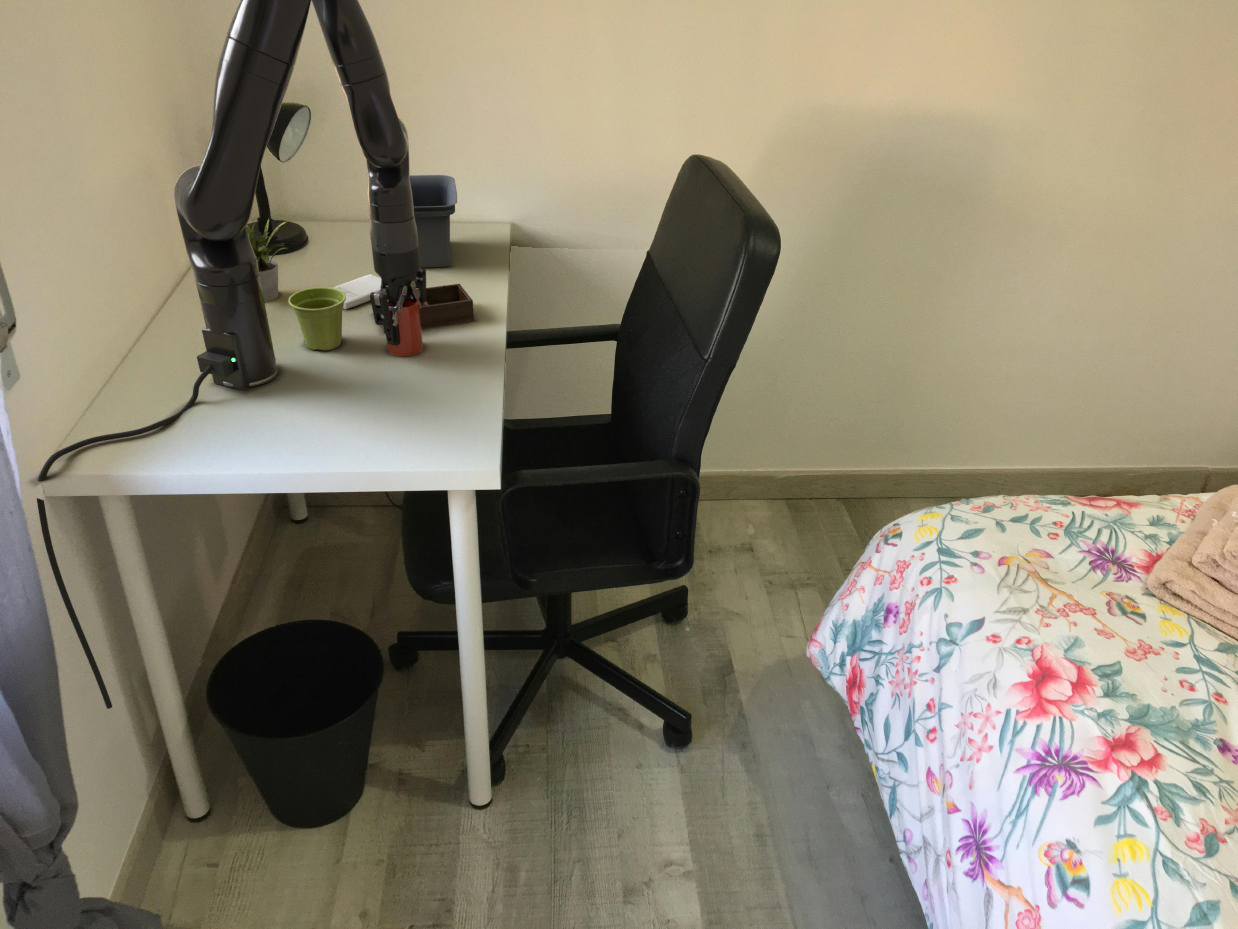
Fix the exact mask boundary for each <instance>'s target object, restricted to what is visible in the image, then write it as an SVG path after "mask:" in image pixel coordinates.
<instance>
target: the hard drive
mask: <svg viewBox="0 0 1238 929" xmlns="http://www.w3.org/2000/svg"><path fill="white" fill-rule="evenodd" d="M380 287H381V277H380V276H377V275H374V274H371V273H369V274H366V275H364V276H360V277H358V278H355V279H353V280H349V281H347V282H343V283H341V284H338V285H335V286H333V287H332V288H334V289H338V290H340V291H342V292H344V293H345V295H346V300H345V302H344V306H343V309H344V310H348V309H351V308H354V307H356V306H358V305H362V304H365V303H367V302H369V301H370V302H371V300H370V294H371V292H375V293H377V292H378V291H379V290H381V289H380ZM343 309H342V310H343Z"/></svg>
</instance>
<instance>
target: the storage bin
mask: <svg viewBox="0 0 1238 929" xmlns="http://www.w3.org/2000/svg"><path fill="white" fill-rule="evenodd" d="M409 177H410V184H411V190H412V196H413V206H414V217H415V222H416V227H417V234H418V246H419V258H420V268H421V269H424V268H447V267H448V266H450V265H451V215H454V214H455V213H456V205H457V204H458V192H457V185H456V180H455V179H456V178H454V177H453V176H450V175H445V174H418V175H417V174H412V175H410V174H409Z"/></svg>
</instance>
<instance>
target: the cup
mask: <svg viewBox="0 0 1238 929" xmlns="http://www.w3.org/2000/svg"><path fill="white" fill-rule="evenodd" d="M388 305H389V306H391V307H396V306H397V304H392V303H390V302H388ZM401 309H402V311H401V313H399V319H398V324H397V325H399V334H400V344H399V345H397V346H395V345H390V344H388V343H387V342H386V347H387V351H388V353H389V354H391V355H393V356H395V357H413V356H415V355H416V356H417V355H418V354H420V353H422V351H423V349H424V341H423V328H421V317H420V305H419V299H418V298H416V301H415V302H412V301H405V302H404V304H403V308H401ZM390 316H391V318H392V317H393V312H392V311H390Z"/></svg>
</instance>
